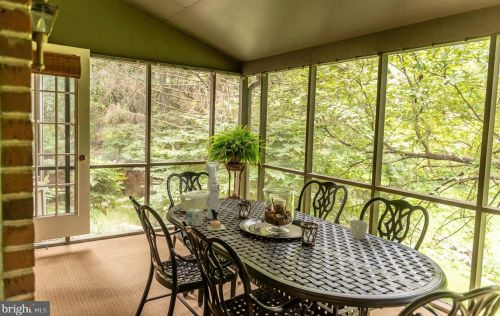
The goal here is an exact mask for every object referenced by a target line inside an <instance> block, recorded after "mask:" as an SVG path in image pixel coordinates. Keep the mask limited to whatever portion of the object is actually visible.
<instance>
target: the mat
mask: <svg viewBox="0 0 500 316" xmlns="http://www.w3.org/2000/svg"><path fill="white" fill-rule="evenodd" d="M205 227H206V229H207V230H208V231H209V232H210V231H221V230H222V231H223V230H226V229H227V228H226V226H225V225H224V224H221V227H220V228H212V227H211V226H210V225H207V226H205Z"/></svg>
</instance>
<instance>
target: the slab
mask: <svg viewBox="0 0 500 316" xmlns="http://www.w3.org/2000/svg"><path fill="white" fill-rule="evenodd" d="M209 223H210V224H209V226H211V227H212V228H220V227H221V225H222V223H221V222H220V220H212V221H211V220H210V221H209Z"/></svg>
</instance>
